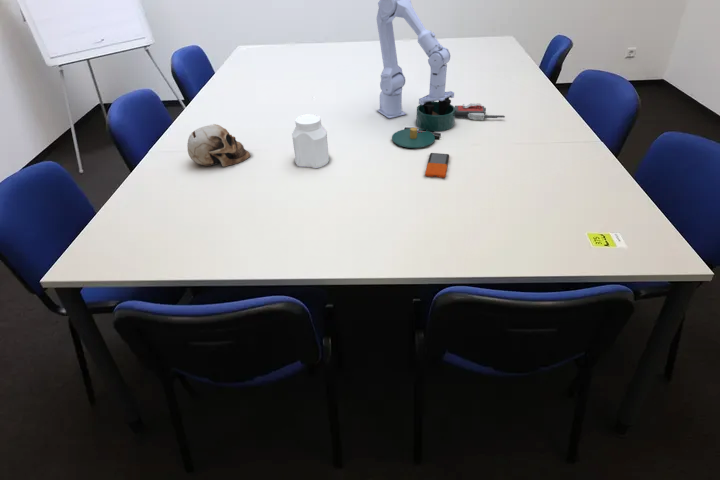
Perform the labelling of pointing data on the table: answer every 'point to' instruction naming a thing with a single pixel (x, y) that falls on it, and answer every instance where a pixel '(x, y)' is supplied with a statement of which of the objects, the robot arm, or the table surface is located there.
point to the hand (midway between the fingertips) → (435, 119)
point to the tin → (435, 118)
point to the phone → (437, 165)
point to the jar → (310, 142)
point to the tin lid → (413, 138)
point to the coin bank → (215, 147)
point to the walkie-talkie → (473, 112)
